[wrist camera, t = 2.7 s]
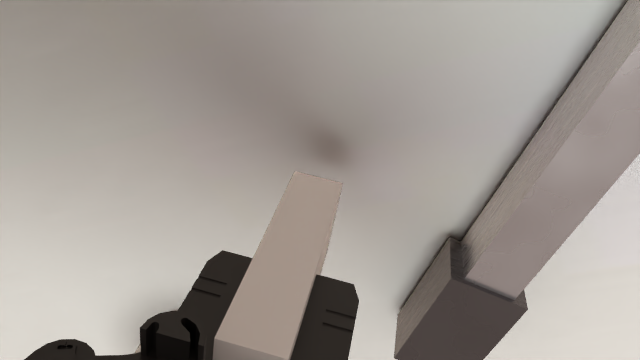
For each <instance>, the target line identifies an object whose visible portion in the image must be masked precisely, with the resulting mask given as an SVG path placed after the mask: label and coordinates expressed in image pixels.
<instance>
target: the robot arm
mask: <svg viewBox="0 0 640 360" xmlns="http://www.w3.org/2000/svg"><path fill="white" fill-rule="evenodd" d="M342 185H343V183H340V182H336V181H332V180H328V179H324V178H320V177H316V176H312V175H308V174H304V173H300V172H296V171H295V172H294V174H293V176H292V178H291V180H290V182H289V184H288V186H287V188H286V190H285V192H284V194H283V197H282V199H281V201H280V203H279V205H278V207H277V209H276V211H275V213H274V215H273V217H272V219H271V221H270V224H269V226H268V228H267V230H266V232H265V234H264V236H263V238H262V240H261V242H260V244H259V246H258V249H257V251H256V253H255V255H254V257H253V258H249V257H245V256H242V255H238V254H234V253H230V252H227V251H223V250H222V251H221V252H220V253H218V254H217V255H215V256H214V257H213V258H211V259H210V260H208V261H207V263H206V264H205V266H204V268H203V270H202V271H201V273H200V275H199V277H198V279H197V280H196V281H195V283H194V285H193V286H192V289H191V291H189V293H188V295H187V297H186V298H185V300H184V302H183V303H182V305H181V307H180V308H179V310H178V311H170V312H164V313H160V314H158V315H156V316H154V317H152V318H150V319H148V320H147V321H146V322H145V323H144V324H143V325H142V326H141V327H140V344H141V352H138V353H135V354H129V355H109V356H95V353H94V350H93V349H92V348H91V347H90V346H89V345H88V344H87V343H84V342H81V341H78V340H75V339H62V340H58V341H54V342H51V343H48V344H46V345H44V346H42V347H41V348H39V349H37V350H36V351H34V352H33V353H32V354H31V355H29V356H28V357H27V358H26V359H24V360H348V356H349V351H350V346H351V340H352V335H353V330H354V324H355V319H356V314H357V309H358V303H359V299H358V296H357V293H356V290H355V287H354V284H350V283H347V282H343V281H339V280H335V279H332V278H328V277H324V276H321V275H320V274H321V271H322V267H323V264H324V261H325V257H326V254H327V250H328V246H329V242H330V237H331V233H332V229H333V224H334V220H335V215H336V211H337V207H338V202H339V198H340V194H341V189H342Z"/></svg>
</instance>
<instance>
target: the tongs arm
mask: <svg viewBox="0 0 640 360" xmlns="http://www.w3.org/2000/svg"><path fill="white" fill-rule="evenodd" d="M639 153H640V0H628V1H627V3H626V4H625V5H624V7H623V8H622V10H621V11H620V13H619V14H618V16H617V17H616V19H615V20H614V21H613V23H612V24H611V26H610V27H609V29H608V30H607V32H606V33H605V34H604V36H603V37H602V39H601V40H600V42H599V43H598V45H597V46H596V47H595V49H594V50H593V52H592V53H591V55H590V56H589V58H588V59H587V60H586V62H585V63H584V65H583V66H582V68H581V69H580V71H579V72H578V74H577V75H576V76H575V78H574V79H573V81H572V82H571V84H570V85H569V87H568V88H567V89H566V91H565V92H564V94H563V95H562V97H561V98H560V100H559V101H558V102H557V104H556V105H555V107H554V108H553V110H552V111H551V113H550V114H549V115H548V117H547V118H546V120H545V121H544V123H543V124H542V126H541V127H540V128H539V130H538V131H537V133H536V134H535V136H534V137H533V139H532V140H531V142H530V143H529V144H528V146H527V147H526V149H525V150H524V152H523V153H522V155H521V156H520V157H519V159H518V160H517V162H516V163H515V165H514V166H513V168H512V169H511V170H510V172H509V173H508V175H507V176H506V178H505V179H504V181H503V182H502V183H501V185H500V186H499V188H498V189H497V191H496V192H495V194H494V195H493V196H492V198H491V199H490V201H489V202H488V204H487V205H486V207H485V208H484V210H483V211H482V212H481V214H480V215H479V217H478V218H477V220H476V221H475V223H474V224H473V225H472V227H471V228H470V230H469V231H468V233H467V234H466V236H465V237H464V238H463V240H462V241H459V240H456V239H454V238H451V237H449V239H448V240H447V242H446V243H445V245H444V246H443V248H442V249H441V251H440V252H439V254H438V255H437V257H436V258H435V260H434V261H433V263H432V264H431V266H430V267H429V269H428V270H427V272H426V273H425V275H424V276H423V278H422V279H421V281H420V282H419V284H418V285H417V287H416V288H415V290H414V291H413V293H412V294H411V296H410V297H409V299H408V300H407V302H406V303H405V305H404V306H403V308H402V309H401V311H400V312H399V314H398V317H397V329H396V341H395V352H394V358H395V359H398V360H483V359H484V358H485V357H486V356H487V355H488V354H489V353H490V351H491V350H492V349H493V348H494V347H495V346H496V345H497V344H498V342H499V341H500V340H501V339H502V338H503V337H504V336H505V335H506V333H507V332H508V331H509V330H510V329H511V328H512V327H513V325H514V324H515V323H516V322H517V321H518V320H519V319H520V318H521V316H522V315H523V314H524V313H525V312H526V311H527V310H528V308H527V303H526V298H525V293H524V288H525V287H526V286H527V285H528V284H529V282H530V281H531V280H532V279H533V278H534V277H535V275H536V274H537V273H538V272H539V271H540V270H541V268H542V267H543V266H544V265H545V264H546V262H547V261H548V260H549V259H550V258H551V257H552V255H553V254H554V253H555V252H556V251H557V250H558V248H559V247H560V246H561V245H562V244H563V243H564V241H565V240H566V239H567V238H568V237H569V235H570V234H571V233H572V232H573V231H574V230H575V228H576V227H577V226H578V225H579V224H580V223H581V221H582V220H583V219H584V218H585V217H586V216H587V214H588V213H589V212H590V211H591V210H592V208H593V207H594V206H595V205H596V204H597V203H598V201H599V200H600V199H601V198H602V197H603V196H604V194H605V193H606V192H607V191H608V190H609V189H610V187H611V186H612V185H613V184H614V183H615V181H616V180H617V179H618V178H619V177H620V176H621V174H622V173H623V172H624V171H625V170H626V169H627V167H628V166H629V165H630V164H631V163H632V161H633V160H634V159H635V158H636V157H637V156H638V154H639Z"/></svg>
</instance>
